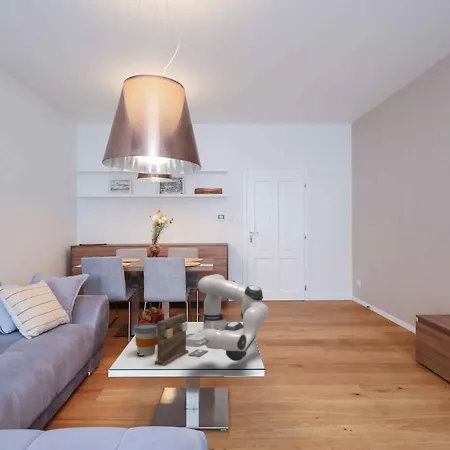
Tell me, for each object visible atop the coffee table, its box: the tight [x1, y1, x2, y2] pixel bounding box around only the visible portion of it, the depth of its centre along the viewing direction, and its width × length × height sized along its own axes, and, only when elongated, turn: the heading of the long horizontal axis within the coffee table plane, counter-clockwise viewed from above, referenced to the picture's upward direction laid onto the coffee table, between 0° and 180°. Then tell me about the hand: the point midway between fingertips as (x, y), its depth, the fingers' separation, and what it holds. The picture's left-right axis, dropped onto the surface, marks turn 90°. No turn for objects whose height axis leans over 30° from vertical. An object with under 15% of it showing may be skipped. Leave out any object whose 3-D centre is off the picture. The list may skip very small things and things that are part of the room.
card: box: [187, 348, 209, 358], centre depth 198 cm, size 7×10×1 cm
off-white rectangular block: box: [180, 321, 188, 331], centre depth 198 cm, size 7×4×4 cm, turn 66°
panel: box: [154, 312, 189, 367], centre depth 191 cm, size 6×23×21 cm, turn 156°
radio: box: [138, 306, 165, 325], centre depth 221 cm, size 16×10×20 cm, turn 41°
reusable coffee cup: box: [134, 323, 157, 357], centre depth 199 cm, size 13×12×15 cm
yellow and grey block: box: [156, 328, 173, 338], centre depth 185 cm, size 7×4×4 cm, turn 66°
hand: (187, 335), depth 179 cm, fingers closed
